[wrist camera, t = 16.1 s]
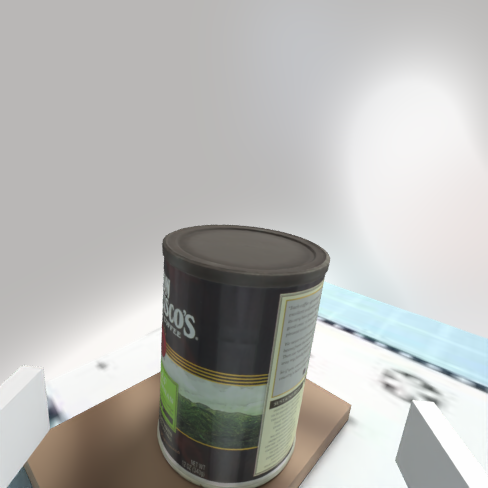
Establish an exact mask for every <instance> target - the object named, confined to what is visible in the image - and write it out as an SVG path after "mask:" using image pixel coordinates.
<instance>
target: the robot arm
mask: <svg viewBox="0 0 488 488" xmlns="http://www.w3.org/2000/svg"><path fill="white" fill-rule="evenodd" d="M44 378H45V377H44V369H43V367H32V366H21V367H20V368H19V369H18V370H17V371H15V372H14V374H12V375H11V376H10V377H9V378H8V379H7V380H6V381H4V382H3V383H2V384H1V385H0V488H7V487H8V485H9V484H10V483H11V481H12V480H13V479H14V477H15V476H16V475H17V473H18V472H19V471H20V469H21V468H22V467H23V465H24V464H25V463H26V461H27V460H28V458H29V457H30V456H31V454H32V453H33V452H34V450H35V449H36V448H37V446H38V445H39V444H40V442H41V441H42V440H43V438H44V437H45V435H46V434H47V433H48V431H49V430H50V425H49V416H48V406H47V397H46V387H45V379H44ZM395 461H396V463H397V465H398V467H399V469H400V471H401V473H402V475H403V478H404V480H405V482H406V484H407V486H408V488H488V475H487V474H486V472H485V471H484V470H483V468H482V467H481V465H480V464H479V463H478V461H477V460H476V459H475V457H474V456H473V455H472V453H471V452H470V451H469V449H468V448H467V447H466V445H465V444H464V443H463V441H462V440H461V438H460V437H459V436H458V434H457V433H456V432H455V430H454V429H453V428H452V426H451V425H450V424H449V422H448V421H447V420H446V418H445V417H444V415H443V414H442V413H441V411H440V410H439V409H438V407H437V406H436V405H435V403H434V402H426V401H415V400H412V403H411V406H410V410H409V413H408V417H407V420H406V424H405V428H404V431H403V435H402V438H401V442H400V445H399V449H398V452H397V456H396V460H395Z"/></svg>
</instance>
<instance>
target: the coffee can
mask: <svg viewBox="0 0 488 488" xmlns="http://www.w3.org/2000/svg"><path fill="white" fill-rule="evenodd" d="M162 247H163V255H164V283H163V319H162V320H163V321H162V343H161V378H160V407H159V420H158V427H157V437H158V442H159V445H160V448H161V451H162V453H163V455H164V457H165V459H166V460H167V461H168V463H169V464H170V465H171V467H172V468H173V469H174V470H175V471H176V472H177V473H178V474H180V475H181V476H182V477H183V478H185V479H186V480H188V481H189V482H191V483H193V484H195V485H198V486H200V487H204V488H256V487H259V486H261V485H263V484H265V483H266V482H268V481H270V480H271V479H273V478H274V477H275V476H276V475H278V474H279V473H280V472H281V471H282V470H283V468H284V467H285V466H286V464H287V463H288V461H289V459H290V458H291V455H292V453H293V451H294V447H295V441H296V429H297V423H298V418H299V412H300V407H301V402H302V396H303V390H304V385H305V379H306V374H307V369H308V364H309V358H310V353H311V347H312V342H313V336H314V331H315V326H316V321H317V315H318V310H319V304H320V299H321V294H322V288H323V283H324V277H325V273H326V272H327V270H328V267H329V263H330V257H329V254H328V253H327V252H326V251H325V250H324V249H323V248H321V247H320V246H318V245H316V244H315V243H313V242H311V241H309V240H306V239H303V238H301V237H298V236H295V235H291V234H287V233H284V232H280V231H274V230H270V229H264V228H257V227H249V226H238V225H203V226H194V227H188V228H183V229H180V230H177V231H174V232H172V233H170V234H168V235H166V237H165V238H164V239H163V243H162Z"/></svg>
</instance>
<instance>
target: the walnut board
mask: <svg viewBox="0 0 488 488" xmlns="http://www.w3.org/2000/svg"><path fill="white" fill-rule="evenodd" d="M160 378H161V372H159V373H157V374H155V375H153V376H151V377H149V378H148V379H146V380H144V381H142V382H140V383H138V384H136V385H134V386H132V387H130V388H128V389H126V390H124V391H123V392H121V393H119V394H117V395H115V396H113V397H111V398H109V399H107V400H105V401H103V402H101V403H99V404H98V405H96V406H94V407H92V408H90V409H88V410H86V411H84V412H82V413H80V414H78V415H76V416H75V417H73V418H71V419H69V420H67V421H65V422H63V423H61V424H59V425H57V426H55V427H53V428H51V429H50V430H49V431H48V433H47V434H46V435H45V437H44V438H43V440H42V441H41V442H40V444H39V445H38V446H37V448H36V449H35V450H34V452H33V453H32V454H31V456H30V457H29V458H28V460H27V461H26V463H25V464H24V465H23V466H24V468H25V471H26V473H27V475H28V477H29V479H30V482H31V484H32V486H33V488H204V487H200V486H198V485H195V484H193V483H191V482H189V481H188V480H186V479H185V478H183V477H182V476H181V475H180V474H178V473H177V472H176V471H175V470H174V469H173V468H172V467H171V465H170V464H169V463H168V461H167V460H166V459H165V457H164V455H163V453H162V451H161V448H160V445H159V442H158V437H157V427H158V420H159V407H160ZM350 409H351V405H350V404H349V403H347V402H345V401H344V400H342V399H340V398H338V397H337V396H335V395H333V394H332V393H330V392H328V391H327V390H325V389H323V388H321V387H320V386H318V385H316V384H315V383H313V382H311V381H310V380H308V379H305V385H304V390H303V396H302V402H301V407H300V412H299V418H298V423H297V429H296V441H295V447H294V451H293V453H292V455H291V458H290V459H289V461H288V463H287V464H286V466H285V467H284V468H283V470H282V471H281V472H280V473H279V474H278V475H276V476H275V477H274V478H273V479H271V480H270V481H268V482H266V483H265V484H263V485H261V486H259V487H256V488H298V487H299V485H300V484H301V483H302V481H303V480H304V479H305V477H306V476H307V475H308V473H309V472H310V471H311V469H312V468H313V466H314V465H315V464H316V462H317V461H318V460H319V458H320V457H321V456H322V454H323V453H324V452H325V450H326V449H327V447H328V446H329V445H330V443H331V442H332V441H333V439H334V438H335V437H336V435H337V434H338V432H339V431H340V430H341V428H342V427H343V426H344V424H345V423H346V422H347V420H348V418H349V413H350Z"/></svg>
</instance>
